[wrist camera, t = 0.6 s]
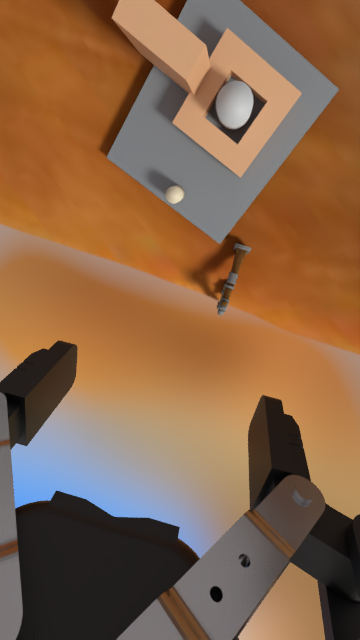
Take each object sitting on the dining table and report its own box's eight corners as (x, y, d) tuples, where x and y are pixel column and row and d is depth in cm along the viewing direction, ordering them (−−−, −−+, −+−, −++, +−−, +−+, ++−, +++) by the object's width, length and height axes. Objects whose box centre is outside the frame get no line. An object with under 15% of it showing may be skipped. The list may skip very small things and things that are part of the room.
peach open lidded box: (297, 98, 29) (317, 76, 22) (240, 177, 32) (241, 179, 26) (171, -13, 27) (150, -73, 20) (124, 84, 30) (93, 59, 24)
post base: (204, -25, 28) (197, -72, 22) (335, 92, 30) (357, 75, 24) (110, 157, 35) (87, 155, 29) (220, 241, 37) (217, 254, 31)
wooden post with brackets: (209, 312, 40) (212, 312, 35) (230, 250, 39) (236, 242, 35) (223, 316, 40) (228, 317, 35) (244, 254, 39) (252, 247, 35)
